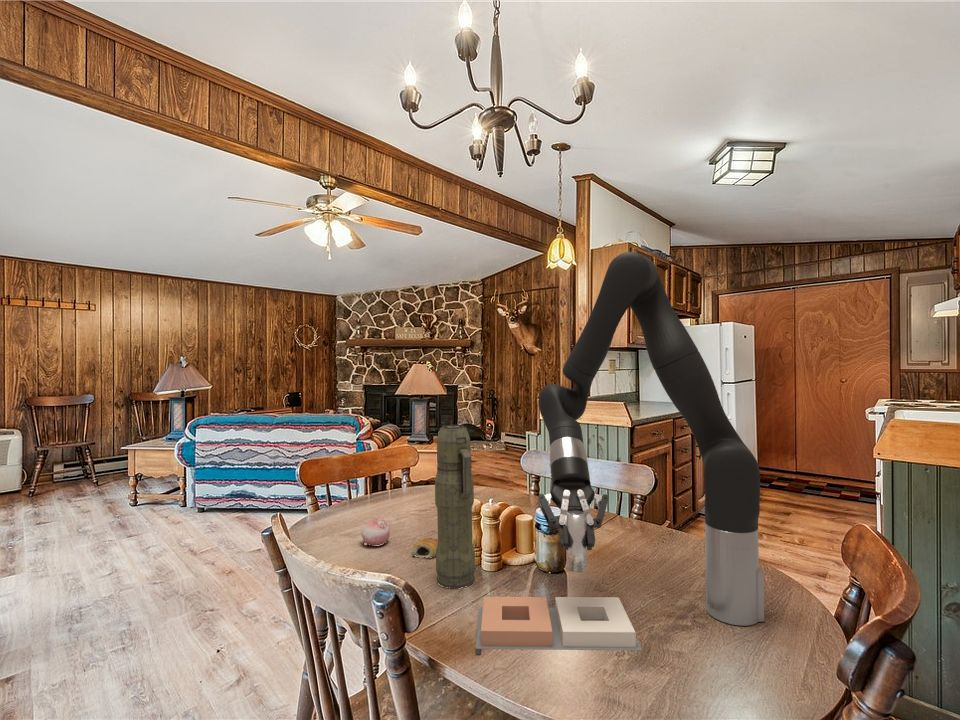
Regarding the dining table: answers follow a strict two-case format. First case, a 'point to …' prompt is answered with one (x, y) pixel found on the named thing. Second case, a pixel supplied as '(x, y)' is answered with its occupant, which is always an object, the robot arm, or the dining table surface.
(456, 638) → the dining table surface
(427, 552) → the pastry
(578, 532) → the steel pin
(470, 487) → the thermos
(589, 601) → the dock board
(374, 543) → the onion
